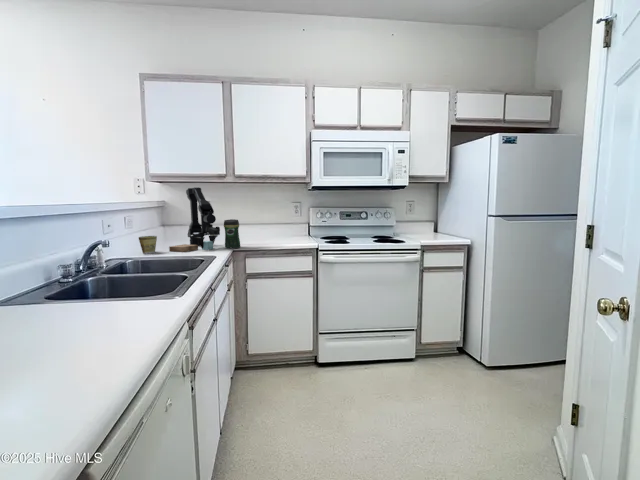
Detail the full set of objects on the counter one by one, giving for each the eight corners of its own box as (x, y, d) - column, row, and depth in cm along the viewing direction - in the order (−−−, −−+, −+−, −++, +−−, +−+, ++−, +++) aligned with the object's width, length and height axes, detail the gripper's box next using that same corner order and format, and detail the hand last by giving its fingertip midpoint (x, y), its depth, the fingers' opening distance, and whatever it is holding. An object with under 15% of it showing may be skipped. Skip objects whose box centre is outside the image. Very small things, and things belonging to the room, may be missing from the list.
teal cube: (207, 248, 230) (206, 240, 229) (213, 248, 228) (212, 241, 227) (201, 249, 225) (201, 241, 225) (207, 249, 223) (207, 242, 223)
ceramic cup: (155, 253, 211) (154, 236, 210) (137, 254, 209) (136, 237, 208) (161, 250, 223) (159, 235, 222) (144, 251, 222) (142, 235, 221)
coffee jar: (241, 246, 233) (240, 218, 231) (238, 248, 225) (237, 219, 223) (227, 247, 233) (225, 219, 231) (223, 248, 225) (222, 219, 223)
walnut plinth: (184, 248, 230) (184, 244, 229) (198, 249, 224) (198, 244, 224) (169, 251, 219) (169, 246, 218) (183, 252, 214) (183, 247, 213)
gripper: (205, 224, 213) (206, 249, 214) (225, 222, 230) (226, 245, 231) (191, 223, 217) (192, 248, 219) (212, 222, 234) (213, 245, 236)
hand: (207, 247), depth 226 cm, fingers open, 8 cm apart
